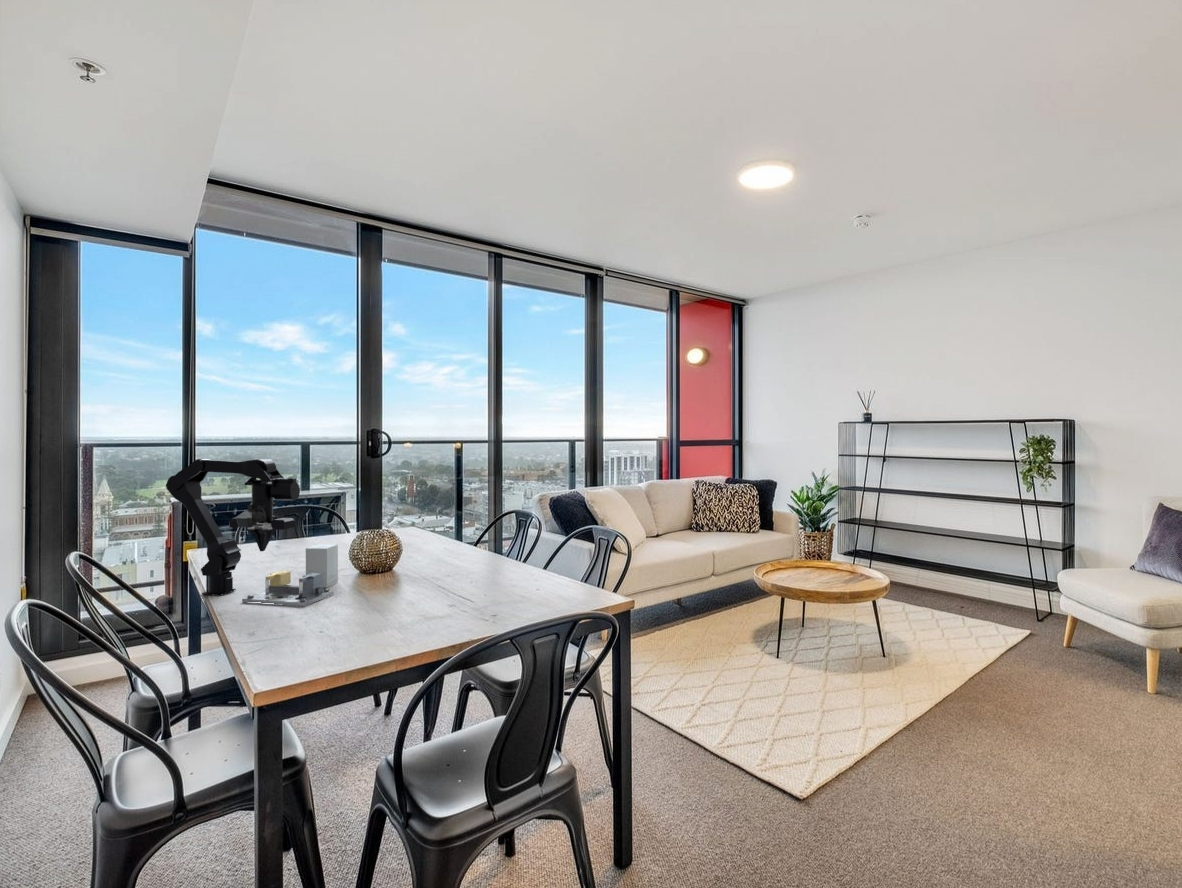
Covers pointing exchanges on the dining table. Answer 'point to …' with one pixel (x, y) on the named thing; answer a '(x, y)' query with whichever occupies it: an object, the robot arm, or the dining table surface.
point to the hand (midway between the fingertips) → (262, 551)
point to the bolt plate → (286, 600)
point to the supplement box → (323, 562)
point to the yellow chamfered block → (277, 580)
